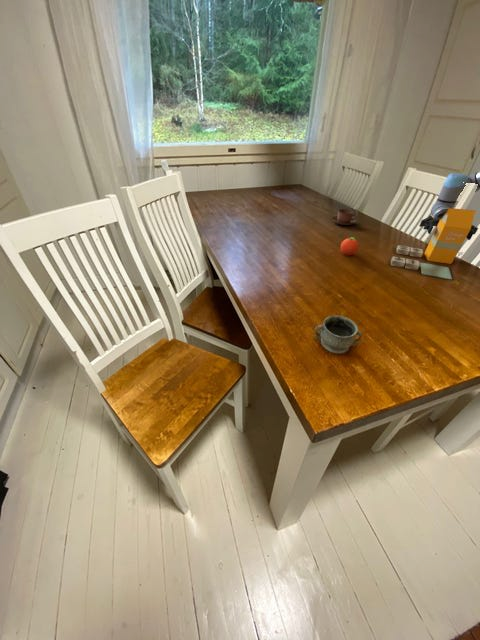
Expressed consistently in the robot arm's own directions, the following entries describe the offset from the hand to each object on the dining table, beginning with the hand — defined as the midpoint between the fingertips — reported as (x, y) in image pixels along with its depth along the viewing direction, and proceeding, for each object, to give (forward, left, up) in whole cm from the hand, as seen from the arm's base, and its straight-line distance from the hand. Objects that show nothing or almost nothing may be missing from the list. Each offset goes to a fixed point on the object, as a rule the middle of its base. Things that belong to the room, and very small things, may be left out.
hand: (450, 233), depth 107 cm
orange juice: (0, -1, -11) cm, 11 cm away
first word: (+11, -1, -11) cm, 15 cm away
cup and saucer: (+42, -27, -11) cm, 51 cm away
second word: (+7, +12, -11) cm, 18 cm away
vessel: (+31, +70, -11) cm, 78 cm away
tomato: (+35, +11, -11) cm, 38 cm away
